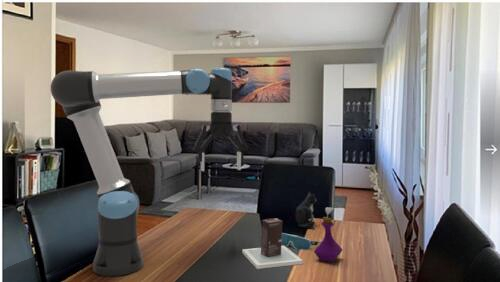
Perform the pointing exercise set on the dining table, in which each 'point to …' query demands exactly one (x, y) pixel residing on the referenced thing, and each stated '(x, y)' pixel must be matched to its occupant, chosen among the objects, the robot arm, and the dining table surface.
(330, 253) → the perfume bottle
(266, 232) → the box
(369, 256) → the dining table surface
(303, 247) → the sunglasses
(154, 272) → the dining table surface
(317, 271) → the dining table surface
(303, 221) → the figurine
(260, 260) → the picture frame
